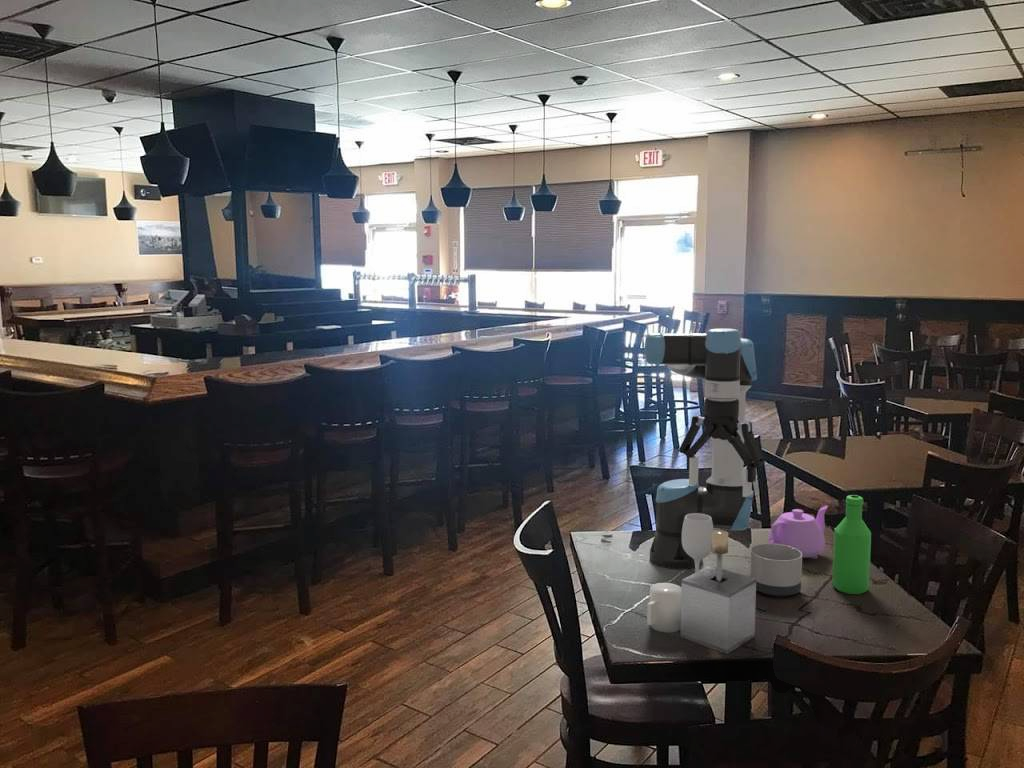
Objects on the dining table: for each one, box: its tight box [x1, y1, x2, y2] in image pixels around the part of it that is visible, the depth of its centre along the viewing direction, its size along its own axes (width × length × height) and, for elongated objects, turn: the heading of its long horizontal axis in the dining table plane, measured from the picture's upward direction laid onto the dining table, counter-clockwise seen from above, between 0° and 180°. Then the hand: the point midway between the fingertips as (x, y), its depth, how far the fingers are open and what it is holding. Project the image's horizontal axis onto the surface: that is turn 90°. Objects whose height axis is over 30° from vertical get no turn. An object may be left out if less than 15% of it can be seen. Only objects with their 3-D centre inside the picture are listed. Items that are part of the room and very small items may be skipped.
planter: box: [749, 543, 803, 597], centre depth 204 cm, size 13×13×10 cm
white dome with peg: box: [646, 582, 681, 633], centre depth 184 cm, size 8×11×9 cm
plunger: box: [711, 529, 729, 583], centre depth 177 cm, size 9×9×23 cm
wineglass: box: [682, 513, 715, 573], centre depth 201 cm, size 9×9×21 cm
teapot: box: [768, 505, 829, 560], centre depth 229 cm, size 22×16×14 cm
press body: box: [680, 565, 757, 655], centre depth 178 cm, size 12×12×14 cm
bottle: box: [831, 494, 872, 595], centre depth 203 cm, size 9×9×25 cm
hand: (719, 489), depth 178 cm, fingers open, 13 cm apart
